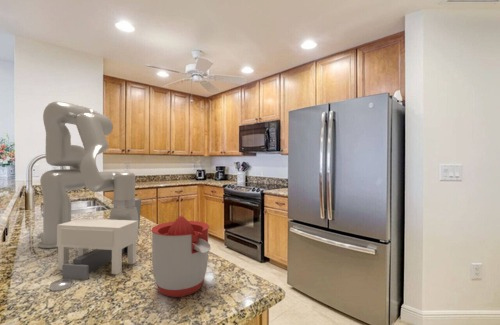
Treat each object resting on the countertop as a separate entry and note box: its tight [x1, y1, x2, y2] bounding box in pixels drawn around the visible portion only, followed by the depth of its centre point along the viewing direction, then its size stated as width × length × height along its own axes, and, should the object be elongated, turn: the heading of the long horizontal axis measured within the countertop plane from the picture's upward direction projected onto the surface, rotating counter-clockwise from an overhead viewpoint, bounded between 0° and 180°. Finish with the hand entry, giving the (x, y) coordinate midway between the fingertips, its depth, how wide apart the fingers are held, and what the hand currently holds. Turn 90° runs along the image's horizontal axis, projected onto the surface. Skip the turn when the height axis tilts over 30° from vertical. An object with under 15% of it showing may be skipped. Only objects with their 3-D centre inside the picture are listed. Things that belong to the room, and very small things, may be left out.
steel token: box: [49, 278, 73, 292], centre depth 71 cm, size 5×5×2 cm
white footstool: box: [56, 217, 139, 275], centre depth 85 cm, size 22×10×14 cm, turn 82°
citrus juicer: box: [151, 215, 211, 298], centre depth 70 cm, size 16×17×20 cm
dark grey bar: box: [61, 248, 126, 281], centre depth 88 cm, size 8×26×6 cm, turn 171°
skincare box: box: [135, 197, 142, 229], centre depth 133 cm, size 8×7×16 cm
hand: (124, 251), depth 98 cm, fingers closed on dark grey bar, 2 cm apart
